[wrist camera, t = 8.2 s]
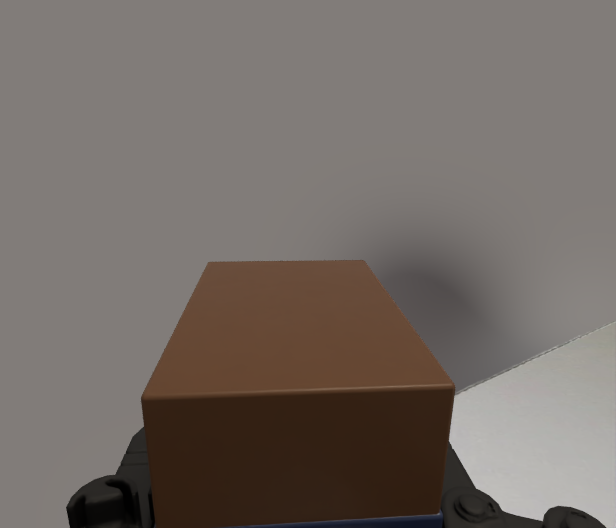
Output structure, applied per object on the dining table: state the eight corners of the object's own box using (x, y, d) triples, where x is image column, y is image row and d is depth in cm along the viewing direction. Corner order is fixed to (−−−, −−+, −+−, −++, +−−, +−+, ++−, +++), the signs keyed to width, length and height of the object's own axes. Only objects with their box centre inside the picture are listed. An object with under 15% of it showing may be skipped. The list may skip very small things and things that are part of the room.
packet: (403, 835, 9) (462, 386, 6) (190, 860, 9) (134, 398, 6) (350, 552, 15) (366, 259, 12) (223, 561, 15) (205, 260, 12)
